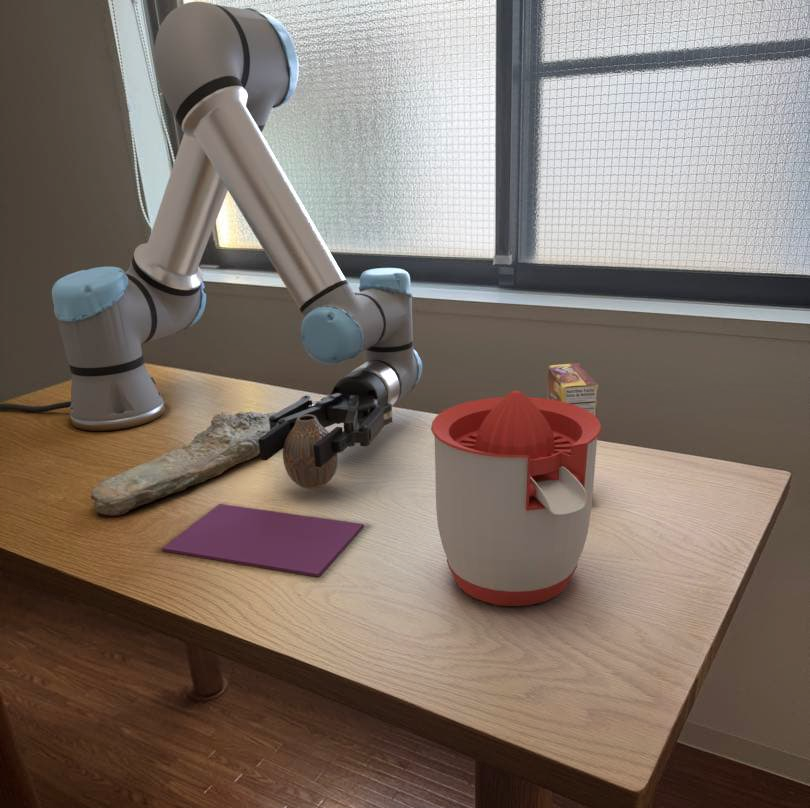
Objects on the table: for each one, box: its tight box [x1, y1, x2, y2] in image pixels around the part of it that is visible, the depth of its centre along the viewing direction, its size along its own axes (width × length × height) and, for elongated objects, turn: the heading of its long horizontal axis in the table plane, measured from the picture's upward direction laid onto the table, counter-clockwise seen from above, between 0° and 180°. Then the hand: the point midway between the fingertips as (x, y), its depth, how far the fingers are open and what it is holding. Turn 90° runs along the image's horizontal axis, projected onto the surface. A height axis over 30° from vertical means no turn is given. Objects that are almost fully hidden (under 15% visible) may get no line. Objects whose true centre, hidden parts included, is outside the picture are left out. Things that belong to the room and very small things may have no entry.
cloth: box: [161, 503, 365, 578], centre depth 89 cm, size 20×12×1 cm, turn 69°
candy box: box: [547, 363, 599, 417], centre depth 93 cm, size 9×4×15 cm, turn 2°
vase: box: [282, 415, 339, 489], centre depth 97 cm, size 7×7×9 cm
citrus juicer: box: [430, 390, 602, 607], centre depth 74 cm, size 16×17×20 cm
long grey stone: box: [90, 411, 277, 517], centre depth 107 cm, size 35×5×10 cm
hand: (289, 452), depth 92 cm, fingers closed on vase, 7 cm apart
